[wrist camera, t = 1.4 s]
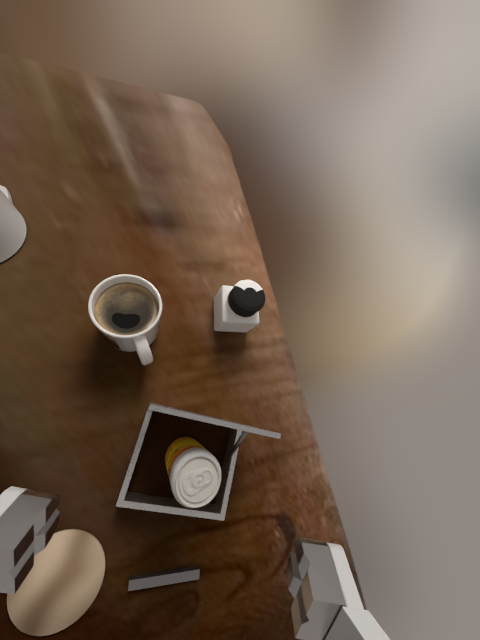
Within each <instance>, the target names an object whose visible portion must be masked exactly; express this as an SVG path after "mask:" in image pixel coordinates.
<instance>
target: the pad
mask: <svg viewBox="0 0 480 640" xmlns="http://www.w3.org/2000/svg"><path fill="white" fill-rule="evenodd" d="M104 573H105V554H104V550H103V548H102V545H101V544H100V542H99V540H98V539H97V538H96V537H95V536H94V535H92V534H91V533H89V532H87V531H84V530H80V529H66V530H62V531H59V532H56V533H54V534H53V536H52V538H51V540H50V541H49V543H48V544H47V546H46V548H45V549H43V550H42V551H41V552H39V553H38V554H36V555H35V556H34V566H33V568H32V569H31V571H30V572H29V574H28V575H27V577H26V578H25V580H24V581H23V583H22V584H21V586H20V587H19V589H18V590H17V592H16V593H15V594H9V593H8V594H7V608H8V613H9V616H10V619H11V621H12V622H13V624H14V625H15V626H16V627H17V628H18V629H19V630H20V631H22V632H24V633H26V634H29V635H32V636H46V635H51V634H54V633H57V632H59V631H61V630H63V629H65V628H67V627H68V626H70V625H71V624H73V623H74V622H75V621H77V620H78V619H79V618H80V617H81V616H82V615H83V614H84V613H85V612H86V611H87V609H88V608H89V607H90V605H91V604H92V603H93V601H94V599H95V598H96V596H97V594H98V592H99V590H100V587H101V584H102V581H103V577H104Z"/></svg>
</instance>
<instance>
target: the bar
mask: <svg viewBox="0 0 480 640" xmlns="http://www.w3.org/2000/svg"><path fill="white" fill-rule="evenodd" d="M199 574H200V568H199V566H195V567H189V568H183V569H176V570H170V571H163V572H157V573H150V574H144V575H138V576H131V577H130V579H129V586H128V591H133V590H139V589H145V588H151V587H156V586H162V585H168V584H174V583H180V582H186V581H192V580H198V579H199Z"/></svg>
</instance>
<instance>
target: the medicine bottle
mask: <svg viewBox="0 0 480 640" xmlns="http://www.w3.org/2000/svg"><path fill="white" fill-rule="evenodd" d="M264 303H265V294H264V291H263V289H262V288H261V287H260V285H258V284H257V283H256V282H254V281H251V280H241V281H239V282H238V283H236V284H235V286H225V285H223V286H222V287H221V288H220V290H219V292H218V293H217V295H216V296H215V298H214V331H224V332H248V331H249V330H251V329H252V328H253V327H255V326H256V325H258V324H259V310H260V309H262V307H263V306H264Z"/></svg>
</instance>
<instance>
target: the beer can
mask: <svg viewBox="0 0 480 640" xmlns="http://www.w3.org/2000/svg"><path fill="white" fill-rule="evenodd" d="M165 464H166V468H167V473H168V477H169V481H170V485H171V489H172V492H173V495H174V497H175V499H176V500H177V501H178V502H179V503H180V504H181V505H183V506H185V507H188V508H198V507H202V506H204V505H206V504H208V503H209V502H210V501H211V500H212V499H213V498H214V497H215V495H216V494H217V492H218V489H219V487H220V484H221V477H222V476H221V467H220V464H219V462H218V461H217V459H216V458H215V457H214V456H213V455H212V454H211V453H210V452H209V451H208V450H206V449H205V448H204V447H203V446H202V445H201V444H200V443H198V442H197V441H196V440H195V439H193V438H191V437H181V438H178V439H176V440H175V441H173V442H172V443H171V444H170V446H169V447H168V449H167V451H166V455H165Z"/></svg>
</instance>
